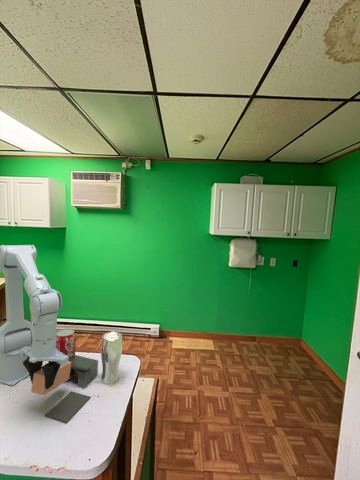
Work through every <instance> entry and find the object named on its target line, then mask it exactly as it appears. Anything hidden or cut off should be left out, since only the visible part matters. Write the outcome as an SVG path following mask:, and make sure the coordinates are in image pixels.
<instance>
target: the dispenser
mask: <svg viewBox="0 0 360 480" xmlns="http://www.w3.org/2000/svg"><path fill="white" fill-rule="evenodd" d="M68 361H69V362H71V369H70V377H69V379H68V380H70V379H71V378H72V377H73V378H76V379H78V380H77V382H78V383H77V387H78V388H81V389H85V388H86V387H87V386H88V385H90V384H91V383H92V381H93V380H94V379H95V378H96V377H98V372H99V369H98V368H99V360H98V359H93V358H89V357H85V356H82V355H76V354H75V355H73V356H71V357H70V358H68ZM66 382H67V381H65V382H63V383H64V384H65V383H66ZM63 383H62V384H63Z"/></svg>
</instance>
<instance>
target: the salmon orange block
mask: <svg viewBox="0 0 360 480" xmlns="http://www.w3.org/2000/svg"><path fill="white" fill-rule="evenodd" d="M70 369H71V362H69V361H68V363H67V364H66V365H64V366H60V368H59V370H58V372H57V374H56V377H55V380H54V384H53V385H52V386H51V387H50V388H49V389H46V388H45V376H44V372H43V370H42V369H41V370H39V371H37V372H35V373H34V376H33V382H32V383H31V390H30V392H31V393H32V394H36V395H39V396H42V397H43V396H46V395H47V394H48V393H49V392H51V391H52V390H54V389H56V388H57V387H59V386H60V385H62V384H63V382H65V381H66V382H67V381H68V380H70V379H69V377H70ZM66 382H65V383H66Z"/></svg>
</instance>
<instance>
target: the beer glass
mask: <svg viewBox="0 0 360 480" xmlns="http://www.w3.org/2000/svg"><path fill="white" fill-rule="evenodd" d="M122 352H123V334H122V333H121V332H119V331H109V332H106V333H104V334H103V335H102V336H101V344H100V358H101V365H102V373H101V376H100V382H101V383H102V384H103V385H113V384H115V383H118V381H119V380H120V372H119V371H120V370H119V368H120V362H121V357H122V354H123V353H122Z"/></svg>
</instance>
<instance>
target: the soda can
mask: <svg viewBox="0 0 360 480" xmlns="http://www.w3.org/2000/svg"><path fill="white" fill-rule="evenodd" d="M76 337H77V335H76V333H75V330H74V329H72V328H62V329H59V330H57V332H56V349H57V350H58V351H60V352H61V353H63V354H64V355H67V356H69V357H68V358H70V357H71V356H73V355H76Z"/></svg>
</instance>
